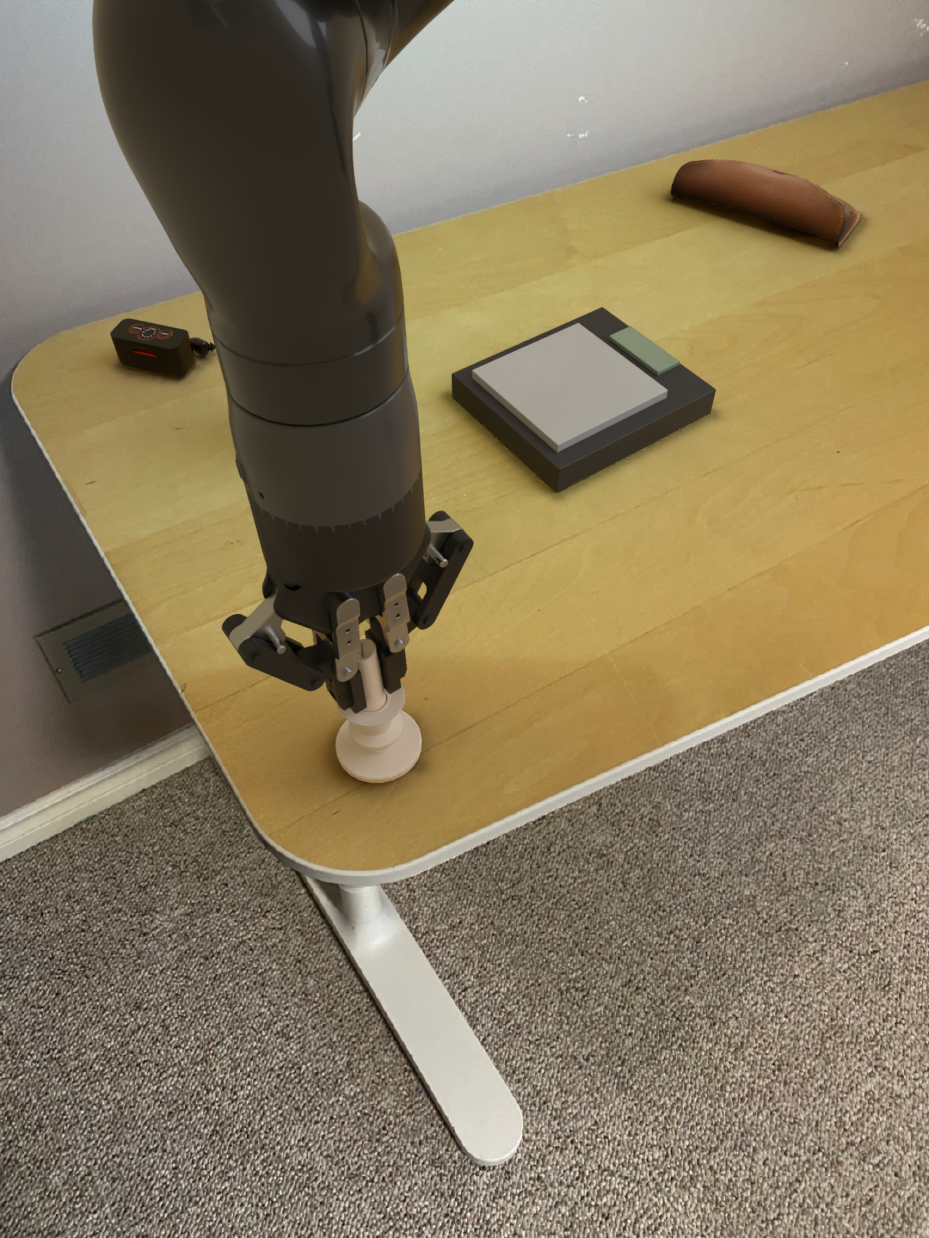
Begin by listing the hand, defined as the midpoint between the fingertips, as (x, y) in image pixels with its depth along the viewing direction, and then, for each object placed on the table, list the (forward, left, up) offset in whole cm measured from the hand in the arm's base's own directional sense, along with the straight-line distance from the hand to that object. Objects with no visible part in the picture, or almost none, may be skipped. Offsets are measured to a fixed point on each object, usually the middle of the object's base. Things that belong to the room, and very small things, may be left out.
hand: (369, 689), depth 54 cm
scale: (-31, -18, -6) cm, 36 cm away
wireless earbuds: (-6, -43, -7) cm, 44 cm away
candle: (0, 0, -6) cm, 6 cm away
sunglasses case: (-66, -31, -7) cm, 73 cm away
